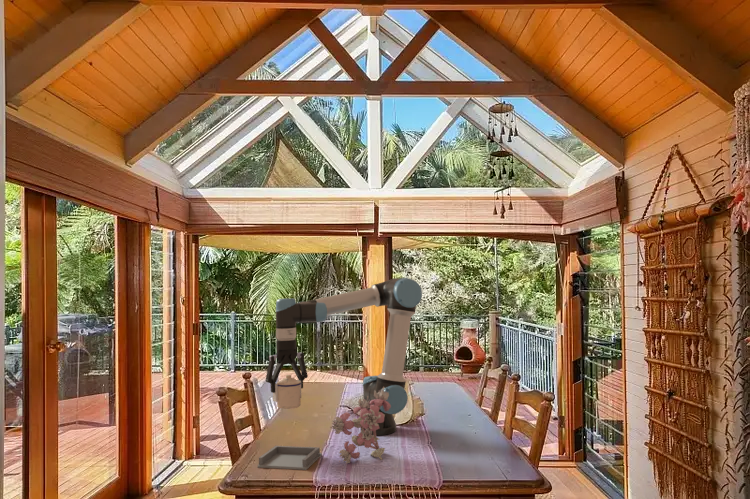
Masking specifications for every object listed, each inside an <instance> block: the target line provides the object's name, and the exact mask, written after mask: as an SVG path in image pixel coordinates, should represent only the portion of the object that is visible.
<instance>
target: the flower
mask: <svg viewBox="0 0 750 499" xmlns="http://www.w3.org/2000/svg"><path fill="white" fill-rule="evenodd" d="M383 390H384V387H383ZM383 390H381V393H380V391H379V392H378V393H376V391H374V397H375V398H376V399H374V400H371V401H368V402H367V401H366V400H365V399H364V398H363V399H362V398H359V399H358V401H357V403H358V406H356V407H354V408H353V409H352V412H353V414H354V415H356V414H358V413H359V417H358V418H356V417H355V418H353V419H352V420H351V419H350V420H348V419H349V418H350V417H351V414H350V413H349V412H344V413H341V415H339V416H335V418H334V419H335V420H332V421H331V422H332V423H331V424H332V425H331V426H330V428H331V429H333V432H334V433H335V434H337V435H339V434H340V433H343V434H344V435H347V436H351V435H352V434H353V431H349V430H352V429H353V428H356V429H360V432H359V433H358V435H355V434H354V435H352V436H351V442H352V443H350V441H348V440H347V441H345V442H344V444H343V446H344V449H341V450H339V452H338V454H340V455H339V457H340V458H339V459H340V461H341V460H343V462H345V463H346V464H350V463H351V459H354V460H357V459H359V458H360V456H361V453H360V451H359V452H358V451H357V452H355V450H356V448H357V447H363V446H364V448H366V449H369V448H370V449H374V450H372V451H371V453H370V457H374V458H379V459H380V460H381V461H383V457H382V455H383V454H384V453H385V449H386V448H385V447H381V448H380V444H379V442H378V440H380V438H379V437H377V435H376V430H378V429H379V428H380V427H379V425H378V424H377V423H383V422H384V417H385V414H383V413H382V412H379V409H380V407H381V406H382V405H383V407H384V410H385V411H388V410H389V409H390V408H391V405H390V404H389V402H387V401H385V400H387V399H388V397H389V393H388V392H384V391H383ZM367 399H368V396H367ZM373 403H374V404H373ZM372 404H373V405H372ZM368 408H370V410H368ZM368 427H369V428H370V431H368V429H369V428H368ZM364 428H365V429H366V431H365V430H364ZM361 429H362V430H361ZM372 431H373V435H371V434H372Z"/></svg>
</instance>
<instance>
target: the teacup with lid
mask: <svg viewBox="0 0 750 499" xmlns="http://www.w3.org/2000/svg"><path fill="white" fill-rule="evenodd" d="M276 384H278V385H277V386H278V402H276V403H277V405H276V406H277V408H279V409H283V410H290V409H291V410H292V409H297V408H300V406H301V398H300V384H301V383H300V381H299V379H295V378H294V377H292V375H291V374H287V375H285V377H284V378H283V379H280V380H279V381H276Z"/></svg>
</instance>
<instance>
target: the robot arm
mask: <svg viewBox="0 0 750 499" xmlns="http://www.w3.org/2000/svg"><path fill="white" fill-rule="evenodd" d="M422 298H423V291H422V287H421V285H420V284H419V283H418V281H416V280H414V279H412V278H408V277H401V278H400V277H399V278H391V279H389V280H385V281H382V282H378V283H376V284H375V283H374V284H371V286H370V287H367V288H364V289H363V288H362V289H358V290H354V291H347V292H344V293H343V292H342V293H339V294H335V295H329V296H325V297H321V298H316V299H311V300H307V301H306V300H305V301H298V302H297V301H296V299H295V298H278V299H277V300H276V301H275V302H276V303H275V327H276V328H275V337H276V342H275V343H276V345H275V346H276V353H275V354H273V355H268V364H267V365H268V366H267V371H266V376H265V382H266V383H268V384H269V383H270V392H271V393H272V401H273V402H275V403H277V402H278V386H277V385H278V384H277V382H278V381H277V380H278V379H279V375H280V373H281V370H282V369H283V367H284V365H290V366H291V367H292V369H293V371H294V374H295V375H296V377H297V380H299V381H300V383H301V384H300V399H302V389H304V381H305V380H306V379H307V378H308V372H307V367H306V366H307V365H306V364H305V363H306V362H305V353H304V352H301V351H300V352H297V339H296V338H297V324H300V323H301V324H302V323H303V324H304V323H306V324H307V323H321V322H325V321H326V320H327V318H328V316H330V315H335V314H340V313H345V312H349V311H355V310H359V309H362V308H367V307H372V306H375V307H377V308H379V307H382V306H383V307H384V306H387V307H386V308H387V311H388V312H389V318H388V327H387V334H386V342H385V347H384V353H383V354H384V355H383V361H382V368H381V373H379V374H378V375H368V376H364V378H363V382H362V388H363V389H362V390H363V399H365V400H366V401H367V402H368V401H371V400H374V399H376V398H375V397H374V391H376V393H378V392H379V391H380V393H381V390H383V387H384V390H383V391H384V392H388V393H389V397H388V399H387V400H385V401H387V402H389V404H390V405H391V408H390V409H389V410H388V411H385V410H384V407H383V405H382V406H381V407H380V409H379V412H382V413H383V414H385V417H384V422H383V423H377V424H378V425H379V427H380V428H379V429H378V430H376V436H385V435H390V434H393V433H395V432H396V431H397V424H396V420H395V417H394V415H396V414H398V413H401V411H403V410H404V409H405V408H406V406H407V404H408V399H409V398H408V396H409V395H408V393H407V390H406V382H407V380H406V379H405V377H404V369H405V368H404V367H405V361H406V353H407V347H408V342H409V333H410V327H411V319H412V317H413V315H415V314H416V310H417V306H418V305H419V304H420V303H421V300H422ZM296 357H297V359H298V363H297V361H296ZM276 360H277V362H276ZM275 362H276V363H275ZM275 364H276V366H275ZM298 364H299V366H298ZM274 368H275V369H274ZM367 396H368V399H367ZM373 404H374V403H373ZM373 404H372V405H373ZM368 410H370V408H368ZM368 428H369V427H368ZM361 430H362V429H361V428H360V431H361ZM364 430H365V431H366V429H365V428H364ZM368 431H370V428H369V429H368ZM371 435H373V431H372V434H371ZM373 436H374V435H373Z"/></svg>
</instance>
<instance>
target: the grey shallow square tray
mask: <svg viewBox="0 0 750 499" xmlns="http://www.w3.org/2000/svg"><path fill="white" fill-rule="evenodd" d="M320 451H321V450H320V446H319V447H318V446H317V447H314V446H296V445H295V446H293V445H275V446H273V447H272V448H270V449H268V450H267V451H266V452H265V453H263V454H262V455H261V456H259V457H258V464H257V468H261V469H279V470H280V469H281V470H282V469H284V470H303V471H306V470H308V469H309V468H310V467H311V466H312V465H313V464H314V463H315V462H316V461H317V460H319V459H320V458H321V457H322V455H323V454H322V453H323V452H320Z"/></svg>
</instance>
